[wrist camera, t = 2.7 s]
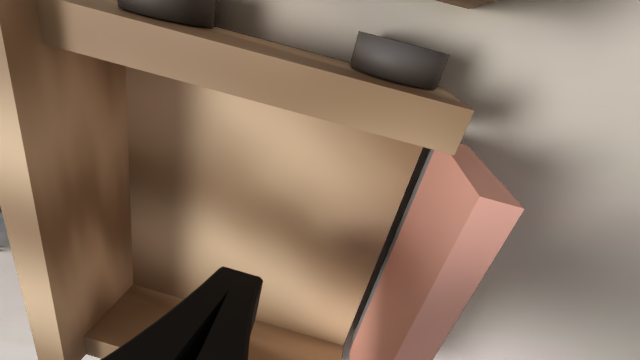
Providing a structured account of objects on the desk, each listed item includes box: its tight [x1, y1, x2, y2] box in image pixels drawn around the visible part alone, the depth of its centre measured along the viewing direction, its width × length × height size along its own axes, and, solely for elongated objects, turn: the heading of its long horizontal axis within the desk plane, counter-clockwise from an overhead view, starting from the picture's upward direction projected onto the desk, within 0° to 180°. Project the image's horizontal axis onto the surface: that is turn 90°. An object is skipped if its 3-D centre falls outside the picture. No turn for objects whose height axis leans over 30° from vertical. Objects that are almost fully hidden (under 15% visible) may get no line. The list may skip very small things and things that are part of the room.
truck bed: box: [0, 0, 474, 360], centre depth 12 cm, size 16×13×5 cm
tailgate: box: [349, 140, 524, 360], centre depth 12 cm, size 11×1×6 cm, turn 167°
